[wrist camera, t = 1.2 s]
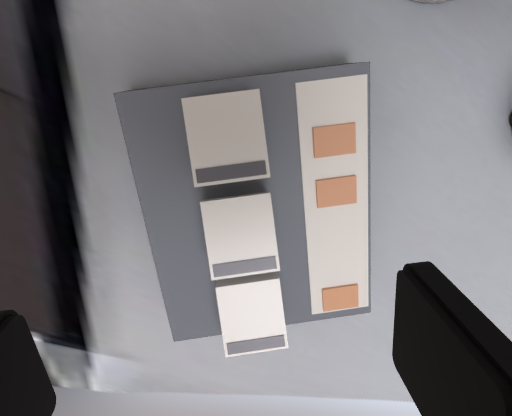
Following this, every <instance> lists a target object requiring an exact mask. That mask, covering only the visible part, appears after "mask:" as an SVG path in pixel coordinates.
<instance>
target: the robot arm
mask: <svg viewBox="0 0 512 416" xmlns="http://www.w3.org/2000/svg"><path fill="white" fill-rule="evenodd" d="M413 1H418V2H422V3H443V2H447V1H452V0H413ZM392 355H393V361H394V364H395V367H396V369H397V371H398V373H399V375H400V377H401V378H402V380H403V382H404V384H405V386H406V388H407V389H408V391H409V393H410V395H411V397H412V399H413V401H414V402H415V404H416V406H417V408H418V410H419V412H420V413H421V415H422V416H512V342H511V341H510V340H509V339H508V338H507V337H506V336H505V335H504V334H503V333H502V332H501V331H500V330H499V329H498V328H497V327H496V326H495V325H494V324H493V323H492V322H491V321H490V320H489V319H488V318H487V317H486V316H485V315H484V314H483V313H482V312H481V311H480V310H479V309H478V308H477V307H476V306H475V305H474V304H473V303H472V302H471V301H470V300H469V299H468V298H467V297H466V296H465V295H464V294H463V293H462V292H461V291H460V290H459V289H458V288H457V287H456V286H455V285H454V284H453V283H452V282H451V281H450V280H449V279H448V278H447V277H446V276H445V275H444V274H443V273H442V272H441V271H440V270H439V269H438V268H437V267H436V266H434V265H433V264H432V263H431V262H428V261H427V262H418V263H410V264H406V265H405V266H404V268H403V270H400V271H398V273H397V282H396V300H395V317H394V334H393V351H392ZM55 405H56V395H55V392H54V389H53V387H52V384H51V382H50V380H49V377H48V375H47V372H46V370H45V367H44V365H43V362H42V360H41V357H40V355H39V352H38V350H37V347H36V345H35V343H34V340H33V338H32V335H31V333H30V330H29V328H28V325H27V323H26V320H25V318H24V317H23V316H22V315H18V314H17V312H15V311H14V310H5V311H0V416H51V415H52V413H53V411H54V409H55Z"/></svg>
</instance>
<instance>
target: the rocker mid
mask: <svg viewBox="0 0 512 416" xmlns="http://www.w3.org/2000/svg"><path fill="white" fill-rule="evenodd" d="M200 207H201V213H202V220H203V227H204V233H205V240H206V247H207V254H208V260H209V267H210V274H211V281H212V280H219V279H226V278H233V277H240V276H247V275H254V274H261V273H268V272H275V271H280V264H279V256H278V248H277V241H276V233H275V225H274V217H273V209H272V202H271V194H270V192H268V191H267V192H260V193H252V194H245V195H238V196H230V197H223V198H215V199H208V200H202V201H201V202H200Z"/></svg>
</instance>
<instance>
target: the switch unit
mask: <svg viewBox="0 0 512 416" xmlns="http://www.w3.org/2000/svg"><path fill="white" fill-rule="evenodd" d="M253 89H259V90H260V98H261V106H262V114H263V121H264V129H265V137H266V145H267V153H268V161H269V168H270V176H271V177H269V178H261V179H254V180H246V181H239V182H231V183H224V184H217V185H209V186H202V187H194V181H193V175H192V168H191V161H190V155H189V148H188V141H187V134H186V128H185V121H184V114H183V108H182V101H181V98H188V97H196V96H204V95H212V94H220V93H228V92H236V91H244V90H253ZM114 97H115V102H116V106H117V110H118V114H119V118H120V122H121V126H122V130H123V135H124V139H125V143H126V147H127V151H128V155H129V159H130V163H131V167H132V172H133V176H134V180H135V184H136V188H137V192H138V196H139V200H140V205H141V209H142V213H143V217H144V221H145V225H146V229H147V233H148V237H149V242H150V246H151V250H152V254H153V258H154V262H155V266H156V270H157V274H158V279H159V283H160V287H161V291H162V295H163V299H164V303H165V307H166V312H167V316H168V320H169V324H170V328H171V332H172V336H173V340H174V341H181V340H188V339H195V338H201V337H208V336H215V335H221V334H222V330H221V323H220V316H219V309H218V303H217V296H216V289H215V287H216V282H217V280H212V281H211V274H210V267H209V260H208V254H207V247H206V240H205V233H204V227H203V220H202V213H201V207H200V202H201V201H202V200H208V199H215V198H223V197H230V196H238V195H245V194H252V193H260V192H267V191H268V192H270V194H271V202H272V209H273V217H274V225H275V233H276V241H277V248H278V256H279V264H280V271H277V274H278V276H279V279H280V287H281V294H282V302H283V310H284V318H285V325H289V324H295V323H302V322H309V321H316V320H322V319H329V318H336V317H342V316H349V315H356V314H363V313H369V312H371V297H370V62H361V63H348V64H340V65H332V66H324V67H316V68H308V69H300V70H292V71H283V72H275V73H267V74H259V75H251V76H243V77H235V78H227V79H219V80H210V81H202V82H194V83H186V84H178V85H170V86H162V87H154V88H146V89H137V90H129V91H124V92H119V93H114ZM275 272H276V271H275ZM268 273H269V272H268ZM261 274H262V273H261ZM254 275H256V274H254ZM247 276H249V275H247ZM240 277H242V276H240ZM233 278H235V277H233ZM226 279H228V278H226ZM219 280H221V279H219Z"/></svg>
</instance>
